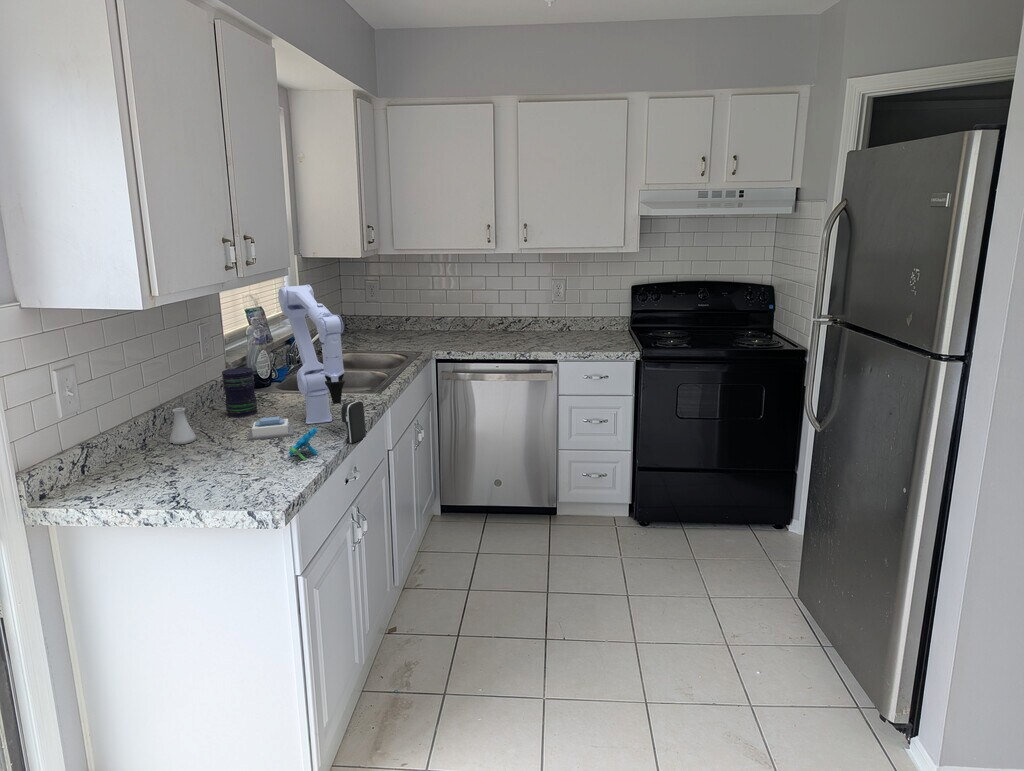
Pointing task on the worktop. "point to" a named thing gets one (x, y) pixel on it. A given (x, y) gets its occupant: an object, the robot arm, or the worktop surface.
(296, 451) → the gear
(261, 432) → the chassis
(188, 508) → the worktop surface
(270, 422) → the block
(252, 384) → the storage jar
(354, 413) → the battery charger
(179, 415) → the flask
